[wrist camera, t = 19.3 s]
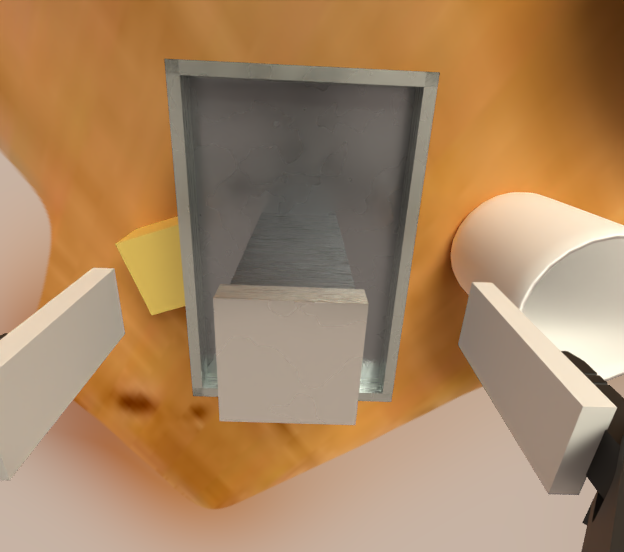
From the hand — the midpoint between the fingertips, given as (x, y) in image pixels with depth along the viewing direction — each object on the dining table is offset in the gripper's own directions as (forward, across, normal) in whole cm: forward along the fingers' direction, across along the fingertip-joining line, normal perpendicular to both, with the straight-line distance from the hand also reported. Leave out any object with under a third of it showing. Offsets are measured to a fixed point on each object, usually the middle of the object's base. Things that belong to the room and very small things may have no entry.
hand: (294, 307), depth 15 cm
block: (+18, -10, -5) cm, 21 cm away
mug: (+18, +18, -3) cm, 26 cm away
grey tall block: (+8, 0, 0) cm, 8 cm away
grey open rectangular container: (+18, 0, -1) cm, 18 cm away
